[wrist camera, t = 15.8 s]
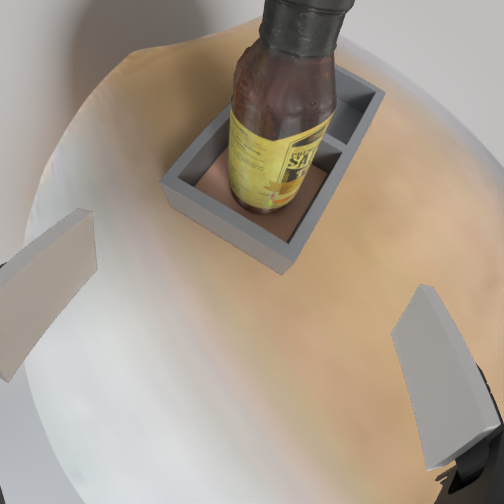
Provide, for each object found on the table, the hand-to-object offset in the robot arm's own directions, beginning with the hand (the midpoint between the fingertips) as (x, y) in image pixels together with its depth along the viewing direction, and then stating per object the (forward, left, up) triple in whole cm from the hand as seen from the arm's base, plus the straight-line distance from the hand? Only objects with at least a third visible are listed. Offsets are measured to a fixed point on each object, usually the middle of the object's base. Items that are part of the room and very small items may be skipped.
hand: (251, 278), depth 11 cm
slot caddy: (+4, -16, -14) cm, 22 cm away
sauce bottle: (+4, -10, -13) cm, 17 cm away
